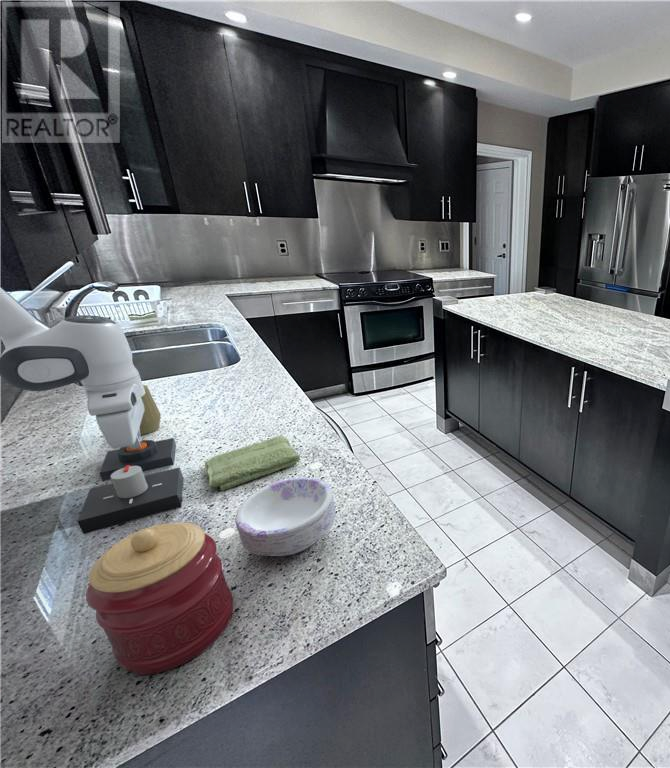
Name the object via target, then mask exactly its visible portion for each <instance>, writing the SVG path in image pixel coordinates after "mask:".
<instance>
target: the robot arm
mask: <svg viewBox="0 0 670 768" xmlns="http://www.w3.org/2000/svg"><path fill="white" fill-rule="evenodd" d="M0 340H1V342H2V343H3V346H4V350H3V351H2V353H1V355H0V377H1V379H2V380H3V381H5V382H6V383H7V384H8V385H10V386H12V387H14V388H15V389H16V388H17V389H19V390H23V391H28V392H45V391H50V390H54V389H59V388H62V387H66V386H69V385H73V384H76V383H79V382H81V384H82V387H83V389H84V391H85V396H86V399H87V405H86V406H87V407H86V409H87V411H88V414H89V415H90V416H91V417H94V416H95V420H96V424H97V425H98V428H99V430H100V432H101V434H102V435H103V438H104V440H105V441H106V443H107V445H108V446H109V447H110V448H112V450H117V449H120V448H122V447H127V446H129V447H130V449H131V450H135V449H139V448H141V444H142V440H143V439H142V437H141V436H142V435H140V424H141V421H142V417H143V414H144V411H145V409H144V404H143V402H142V399H141V397H142V396H143V395H144V394H145V390H144V387H143V385H144V383H143V381H142V378H141V376H140V373H139V371H138V369H137V368H136V366H135V365H134V361H133V352H132V349H131V347H130V343H129V342H128V339H127V336H126V335H125V333H124V331H123V329H122V328H121V326H120V325H119V324H118V323H117V322H116V321H115V320H113V319H111V318H109V317H105V316H99V315H90V314H89V315H86V314H85V315H84V314H82V315H71V316H67V317H64V318H63V319H62V320H61V321H60V322H59V323H57V324H55V325H54V326H52V325H50V324H48V323H45V322H44V321H42V320H40V319H39V318H38V317H36V316H35V315H34V314H33V313H31V312H30V311H29V310H28V309H26V307H24V306H23V305H22V304H21V302H18V300H16V299H15V297H13V296H12V295H11V294H10V293H9V292H7V291H6V290H5V289H4V288H3V287H2V286H0Z"/></svg>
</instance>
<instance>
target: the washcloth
mask: <svg viewBox="0 0 670 768" xmlns="http://www.w3.org/2000/svg"><path fill="white" fill-rule="evenodd" d="M300 460H301V457H300V455H299V453H298V452H297V451H295V449H294V448H293V447H291V444H290V442H289V438H287V437H285V436H283V435H276V436H273V437H271V438H268V439H266V440H264V441H259V442H255V443H252V444H249V445H246V446H243V447H240V448H237V449H235V450H231V451H227V452H222V453H219V454H217V455H214V456H212V457H210V458H209V459H208V460H206V461H205V462H204V471H205V472H204V474H205V476H206V477H207V478H208V479H209V480H208V484H209V487H210V488H217V487H219V488H220V491H224V490H229V489H231V488H234V487H236V486H239V485H243V484H246V483H248V482H249V481H252V480H256V479H259V478H260V477H264V476H267V475H270V474H272V473H275V472H278V471H279V470H280V471H281V470H283V469H286V468H289V467H291V466H294V465H296V464H297V463H298V462H300Z"/></svg>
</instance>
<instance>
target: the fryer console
mask: <svg viewBox="0 0 670 768" xmlns="http://www.w3.org/2000/svg"><path fill="white" fill-rule="evenodd" d="M144 477H145V480H146V483H147V485H148V488H147V490H146V491H145V492H143V493H141V494H140V495H137V496H134V497H131V498H120V497H118V494H117V492H116V490H115V487H114V485H113V482H112V483H108V484H104V485H99V486H95V487H91V488H89V491H88V493H87V496H86V498H85V501H84V503H83V505H82V508H81V511H80V513H79V516H78V518H77V520H76V522H77V524H78V526H79V528H80V531H81V533H82V535H86V534H90V533H94V532H97V531H100V530H104V529H107V528H110V527H115V526H119V525H121V524H125V523H128V522H133V521H137V520H139V519H143V518H146V517H147V518H148V517H150V516H154V515H157V514H161V513H165V512H168V511H171V510H176V509H178V508H181V507H182V503H183V493H184V491H183V490H184V475H183V473H182V470H181V467H175V468H171V469H166V470H162V471H158V472H154V473H149V474H146V475H145V474H144Z"/></svg>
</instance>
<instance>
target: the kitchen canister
mask: <svg viewBox="0 0 670 768" xmlns="http://www.w3.org/2000/svg"><path fill="white" fill-rule="evenodd" d="M88 582H89V584H88V586H87V589H86V594H85V600H86V603H87V605H88V606H89V607H90V608H91V609H93V610H94V611H95V619H96V622H97V623H98V625H99V627H100V628H102V629H103V631H104V633H105V635H106V637H107V640H108V641H109V643H110V646H111V648H112V655H113V656H114V658H115V660H116V661H117V663H118V664H119V665H120V666H122V667H123V668H124V669H126V670H127V671H129V673H133V674H136V675H153V674H160V673H163V672H166V671H169V670H173V669H175V668H177V667H179V666H181V665H184V664H186V663H188V662H189V661H190V660H192V659H194V658H195V657H197V656H198V655H200V654H201V653H203V652H204V651H206V650H207V649H208V648H209V647H210V646H212V644H213V643H214V642H216V641H217V639H218V638H219V637H220V636H221V635H222V634H223V632H224V631H225V630H226V628H227V627H228V625H229V623H230V621H231V618H232V615H233V609H234V606H233V605H234V598H233V595H232V590H231V589H230V587H229V586H228V584H227V581H226V576H225V574H224V570H223V563H222V560H221V558H220V556H219V555H218V554H217V542H216V540H215V539H214V538H213V537H212V536H211V535H209V534H207V533H205V531H204V530H203V528H202V527H200V526H199V525H198V524H195V523H190V522H171V523H161V524H156V525H152V526H148V527H146V528H143V529H140V530H138V531H135V532H133V533H131V534H129V535H128V536H126V537H124V538H122V539H121V540H119V541H118V542H116V543H115V544H113V546H111V547H110V548H109V549H107V550H106V551H105V552H104V553H103V554H102V555H100V557H99V558H98V559H97V560H96V561H95V562H94V564H93V565H92V567H90V571H89V573H88Z"/></svg>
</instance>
